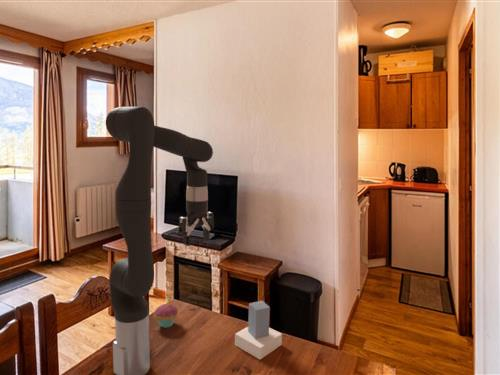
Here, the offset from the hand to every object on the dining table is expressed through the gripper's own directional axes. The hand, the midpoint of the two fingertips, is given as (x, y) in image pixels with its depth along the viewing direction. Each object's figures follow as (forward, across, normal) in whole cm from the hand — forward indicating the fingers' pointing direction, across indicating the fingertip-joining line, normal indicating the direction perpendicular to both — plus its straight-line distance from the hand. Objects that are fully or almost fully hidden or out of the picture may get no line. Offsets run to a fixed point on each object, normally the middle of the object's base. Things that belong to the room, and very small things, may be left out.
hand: (196, 243), depth 125 cm
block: (+26, +5, -26) cm, 37 cm away
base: (+30, +5, -26) cm, 40 cm away
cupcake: (+30, -9, +6) cm, 32 cm away
